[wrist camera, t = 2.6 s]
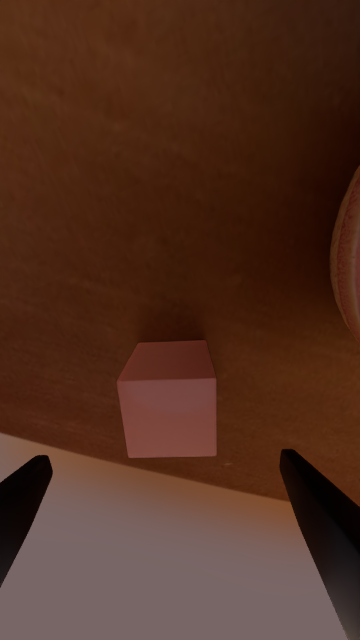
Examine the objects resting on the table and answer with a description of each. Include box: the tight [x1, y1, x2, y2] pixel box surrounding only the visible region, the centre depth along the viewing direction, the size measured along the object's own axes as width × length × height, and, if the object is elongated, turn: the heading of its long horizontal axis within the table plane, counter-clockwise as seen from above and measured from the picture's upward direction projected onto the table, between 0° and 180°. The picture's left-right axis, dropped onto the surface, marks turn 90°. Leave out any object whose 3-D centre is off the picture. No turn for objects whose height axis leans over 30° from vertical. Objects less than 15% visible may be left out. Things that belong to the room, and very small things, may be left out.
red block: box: [116, 340, 217, 458], centre depth 12 cm, size 4×4×4 cm
